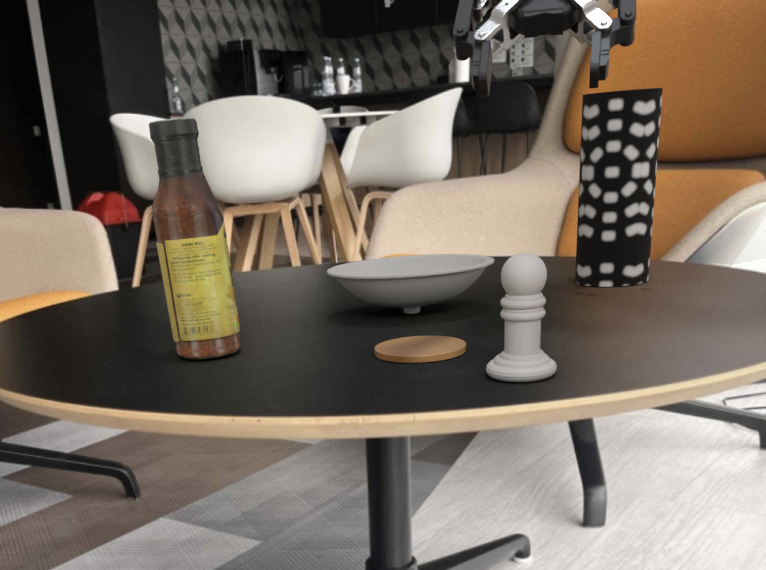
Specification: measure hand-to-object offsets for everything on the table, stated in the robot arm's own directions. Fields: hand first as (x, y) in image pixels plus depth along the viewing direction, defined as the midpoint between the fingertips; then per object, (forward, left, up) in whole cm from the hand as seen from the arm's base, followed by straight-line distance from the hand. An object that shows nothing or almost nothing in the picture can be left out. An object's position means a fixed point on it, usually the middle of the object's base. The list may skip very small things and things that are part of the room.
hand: (538, 83), depth 69 cm
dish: (+15, -13, -20) cm, 29 cm away
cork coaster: (+9, +5, -20) cm, 23 cm away
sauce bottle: (+29, +7, -20) cm, 36 cm away
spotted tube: (-4, -32, -20) cm, 39 cm away
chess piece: (-1, +12, -20) cm, 24 cm away
